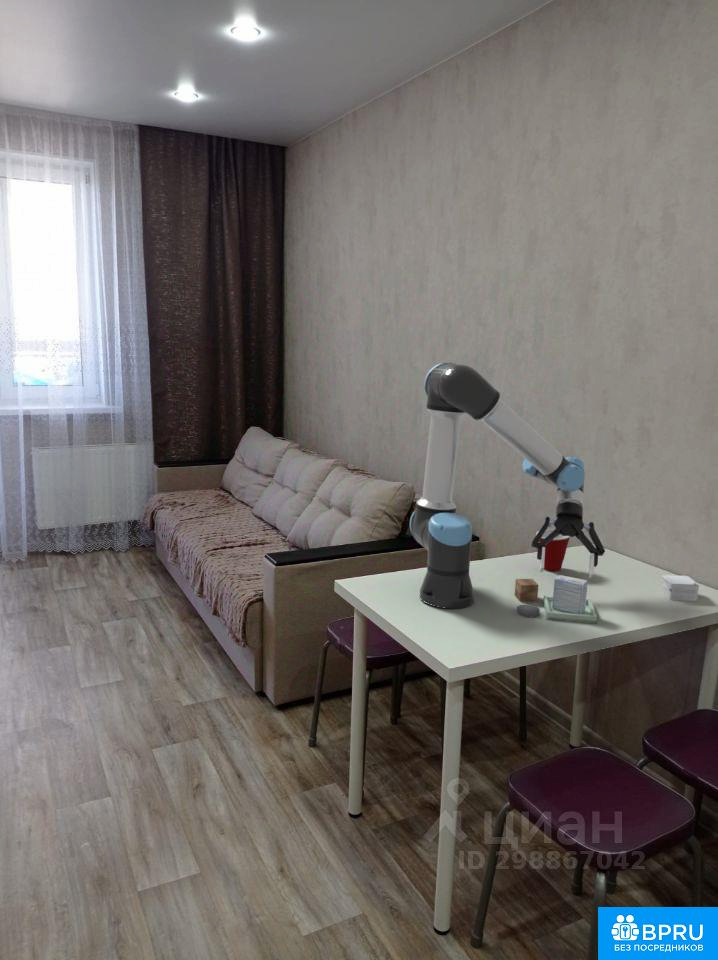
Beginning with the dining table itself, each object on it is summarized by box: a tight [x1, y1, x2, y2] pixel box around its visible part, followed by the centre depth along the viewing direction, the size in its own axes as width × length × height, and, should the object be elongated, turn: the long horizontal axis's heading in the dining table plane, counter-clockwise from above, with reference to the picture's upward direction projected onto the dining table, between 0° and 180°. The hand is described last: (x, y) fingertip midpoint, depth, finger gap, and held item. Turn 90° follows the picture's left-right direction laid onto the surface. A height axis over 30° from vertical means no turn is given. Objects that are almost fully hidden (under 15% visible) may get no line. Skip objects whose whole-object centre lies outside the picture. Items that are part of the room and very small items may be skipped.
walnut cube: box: [514, 578, 539, 603], centre depth 205 cm, size 5×5×5 cm
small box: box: [660, 574, 700, 602], centre depth 210 cm, size 8×8×5 cm
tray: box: [542, 595, 598, 624], centre depth 196 cm, size 13×13×2 cm
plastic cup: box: [535, 528, 571, 573], centre depth 231 cm, size 11×11×12 cm
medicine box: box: [552, 574, 589, 614], centre depth 195 cm, size 8×4×9 cm, turn 57°
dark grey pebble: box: [516, 604, 540, 618], centre depth 195 cm, size 6×6×2 cm
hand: (566, 573), depth 205 cm, fingers open, 13 cm apart
